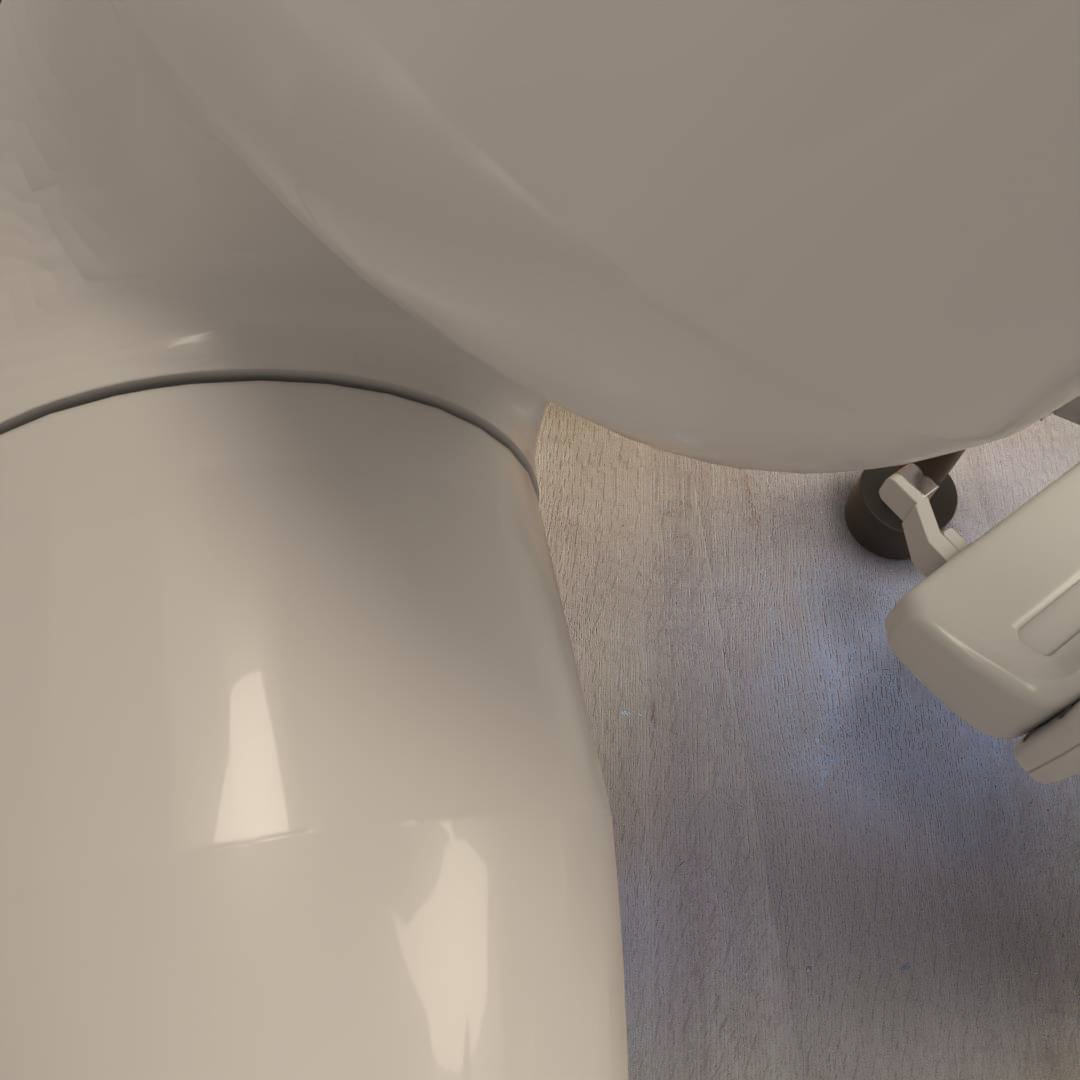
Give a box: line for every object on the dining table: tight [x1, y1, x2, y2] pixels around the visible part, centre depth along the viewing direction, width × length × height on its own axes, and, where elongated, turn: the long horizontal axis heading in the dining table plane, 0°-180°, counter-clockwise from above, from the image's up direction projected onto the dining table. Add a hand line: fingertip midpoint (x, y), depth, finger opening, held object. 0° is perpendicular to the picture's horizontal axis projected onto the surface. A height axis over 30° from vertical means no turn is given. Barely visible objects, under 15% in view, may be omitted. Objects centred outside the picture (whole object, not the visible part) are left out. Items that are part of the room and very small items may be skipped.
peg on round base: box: [844, 449, 967, 560], centre depth 50 cm, size 5×5×18 cm
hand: (964, 426), depth 49 cm, fingers open, 8 cm apart
